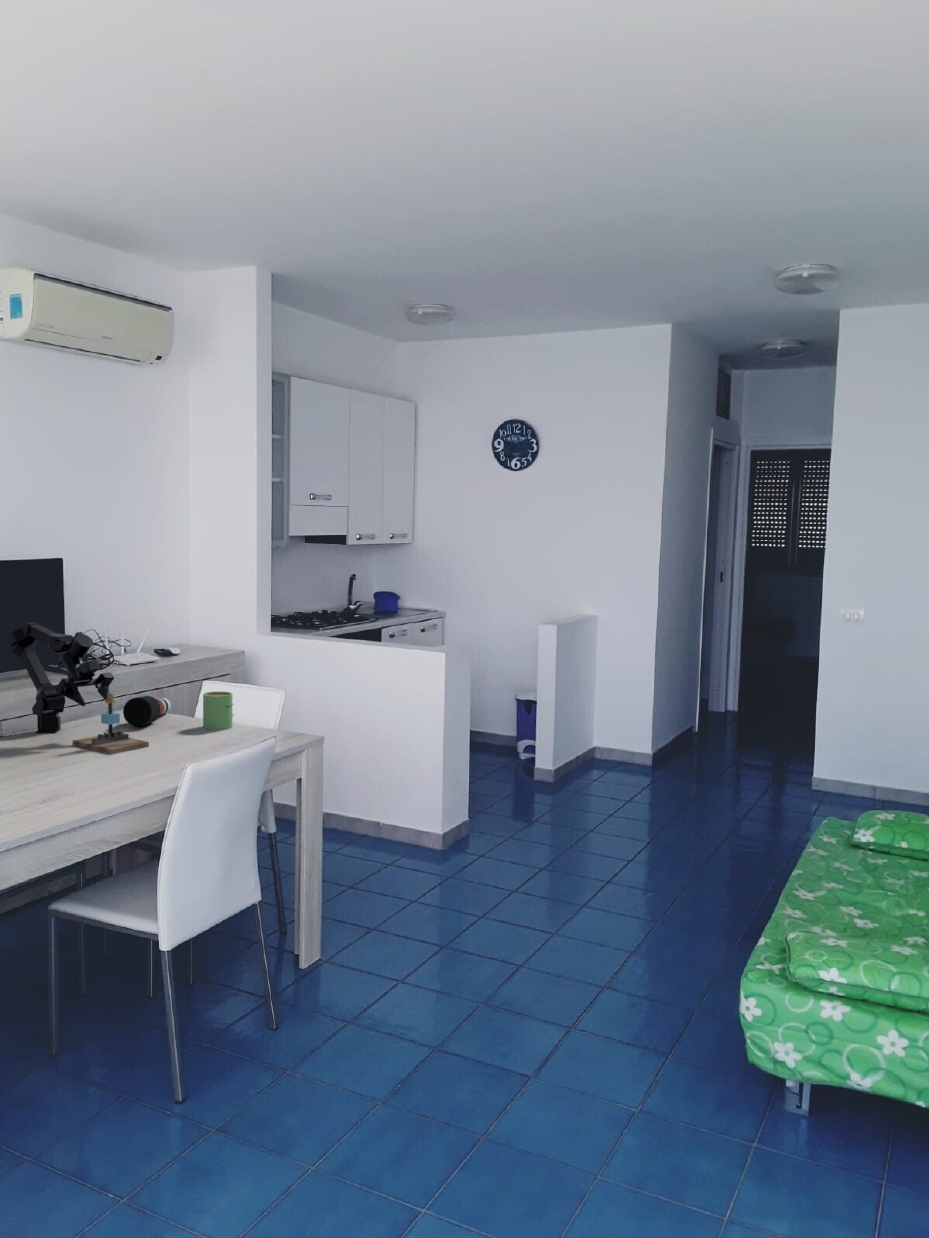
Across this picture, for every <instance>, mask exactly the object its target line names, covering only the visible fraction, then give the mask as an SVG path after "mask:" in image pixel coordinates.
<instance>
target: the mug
mask: <svg viewBox="0 0 929 1238" xmlns="http://www.w3.org/2000/svg"><path fill="white" fill-rule="evenodd" d="M202 700H203V701H202V707H203V708H202V728H203V730H207V729H210V730H209V731H225V730H230V729H232V728H233V717H234V714H233V706H234V703H233V693H232V692H230V691H220V690H219V691H207V692H204V693H202Z"/></svg>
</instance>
